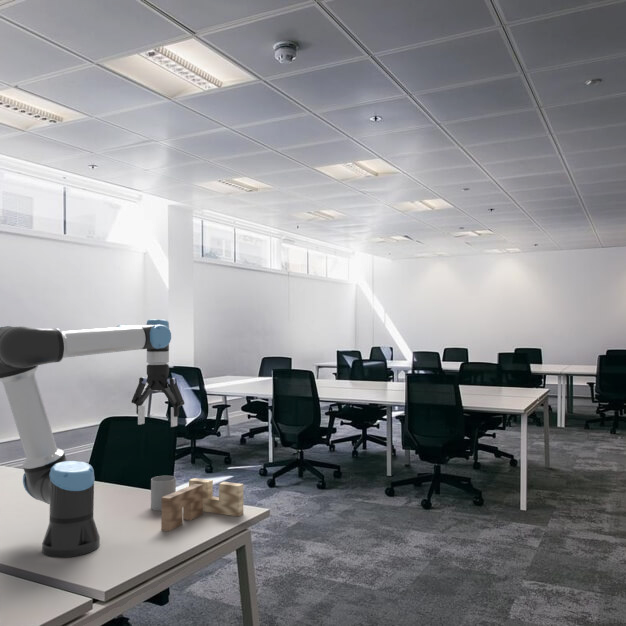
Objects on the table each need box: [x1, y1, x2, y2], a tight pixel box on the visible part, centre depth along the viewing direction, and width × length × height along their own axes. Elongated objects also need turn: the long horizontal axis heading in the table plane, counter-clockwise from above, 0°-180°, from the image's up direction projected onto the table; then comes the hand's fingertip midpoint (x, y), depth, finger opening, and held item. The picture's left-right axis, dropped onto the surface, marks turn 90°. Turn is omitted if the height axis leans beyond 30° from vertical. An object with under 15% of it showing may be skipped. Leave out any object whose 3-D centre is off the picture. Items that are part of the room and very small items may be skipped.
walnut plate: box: [160, 484, 204, 532], centre depth 191 cm, size 18×3×10 cm, turn 156°
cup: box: [150, 475, 177, 511], centre depth 207 cm, size 8×8×10 cm
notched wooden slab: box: [188, 477, 244, 517], centre depth 202 cm, size 20×3×10 cm, turn 66°
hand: (157, 425), depth 205 cm, fingers open, 13 cm apart
